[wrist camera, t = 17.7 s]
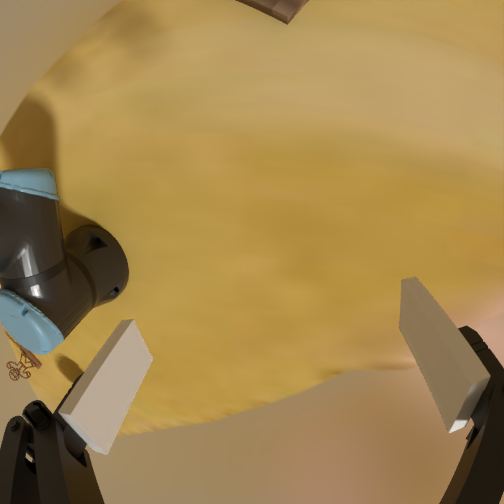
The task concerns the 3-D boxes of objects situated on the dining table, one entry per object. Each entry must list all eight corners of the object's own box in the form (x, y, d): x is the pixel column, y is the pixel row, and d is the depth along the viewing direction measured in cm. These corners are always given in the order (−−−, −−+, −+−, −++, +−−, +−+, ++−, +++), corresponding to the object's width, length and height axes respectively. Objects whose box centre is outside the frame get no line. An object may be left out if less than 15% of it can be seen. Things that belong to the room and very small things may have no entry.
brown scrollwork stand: (42, 364, 67) (22, 387, 56) (39, 367, 68) (20, 390, 57) (23, 343, 65) (2, 365, 54) (21, 347, 66) (0, 369, 55)
